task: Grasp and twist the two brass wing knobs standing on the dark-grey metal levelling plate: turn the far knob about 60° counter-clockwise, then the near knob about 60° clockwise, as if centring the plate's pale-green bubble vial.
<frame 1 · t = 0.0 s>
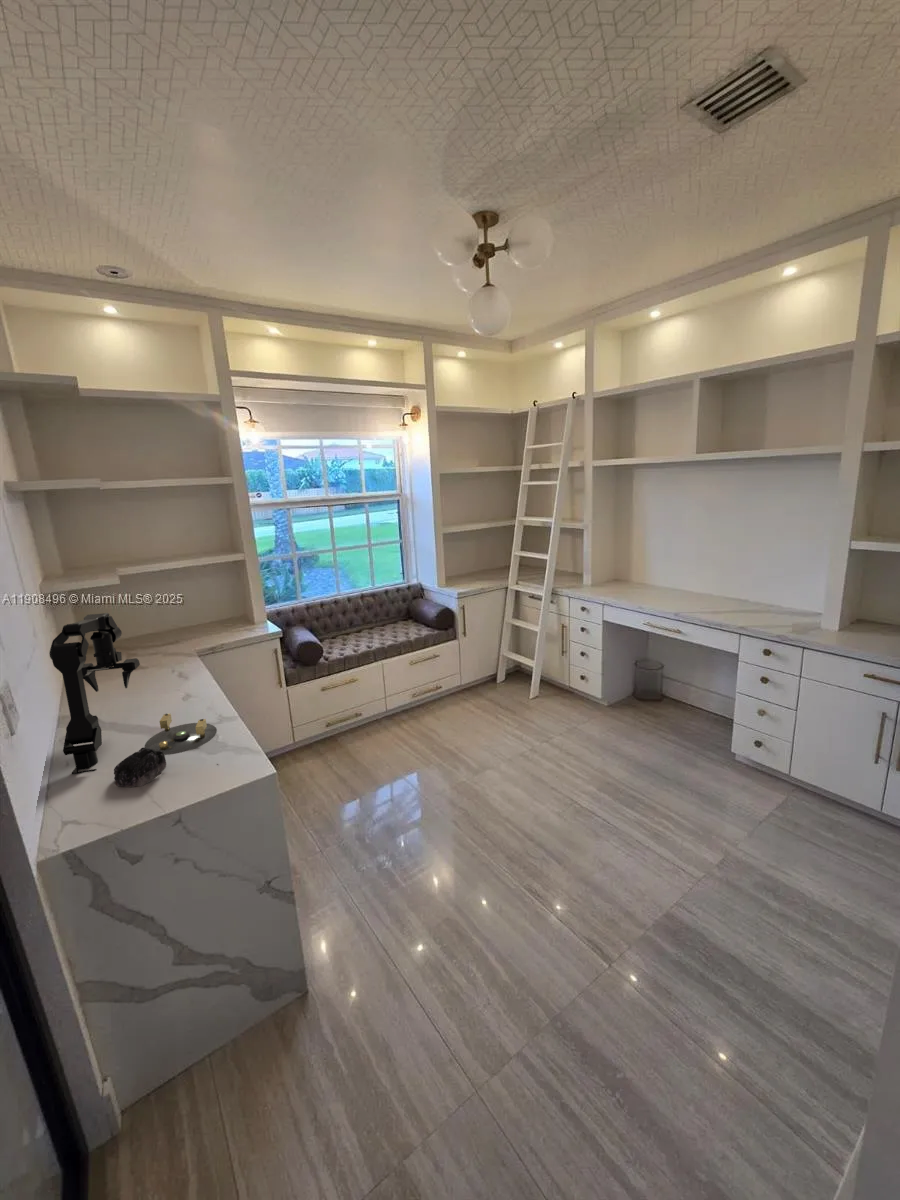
hand: (112, 689, 180), 15 cm above the countertop, fingers open, 9 cm apart
knob far: (166, 723, 176), point 4 cm above the countertop, hinge at 0.0°
levelling plate: (182, 740, 172), on the countertop
crystal cluster: (141, 777, 151), on the countertop
knob near: (201, 729, 171), point 4 cm above the countertop, hinge at 0.0°
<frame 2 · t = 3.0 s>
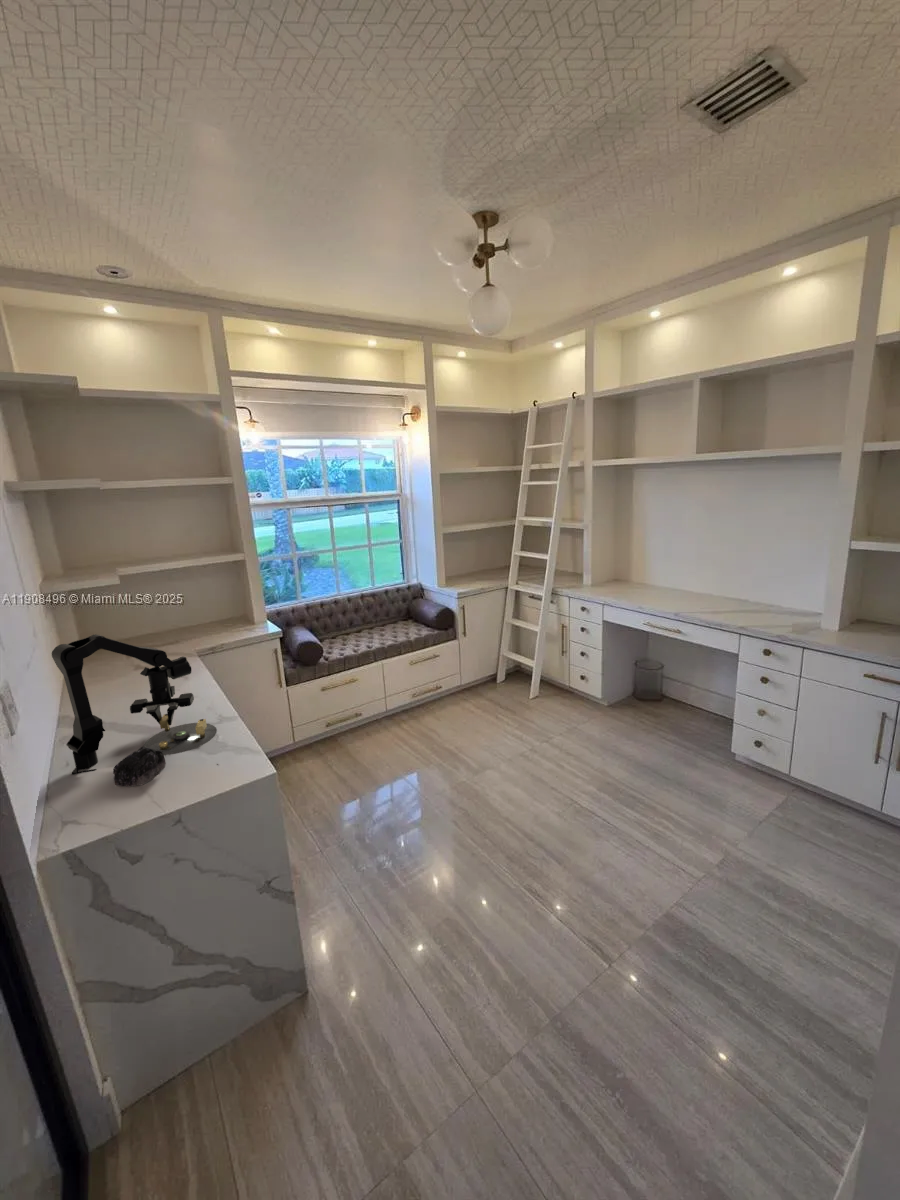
hand: (166, 725, 176), 3 cm above the countertop, fingers closed on knob far, 2 cm apart
knob far: (166, 723, 176), point 4 cm above the countertop, hinge at 0.0°, touching gripper
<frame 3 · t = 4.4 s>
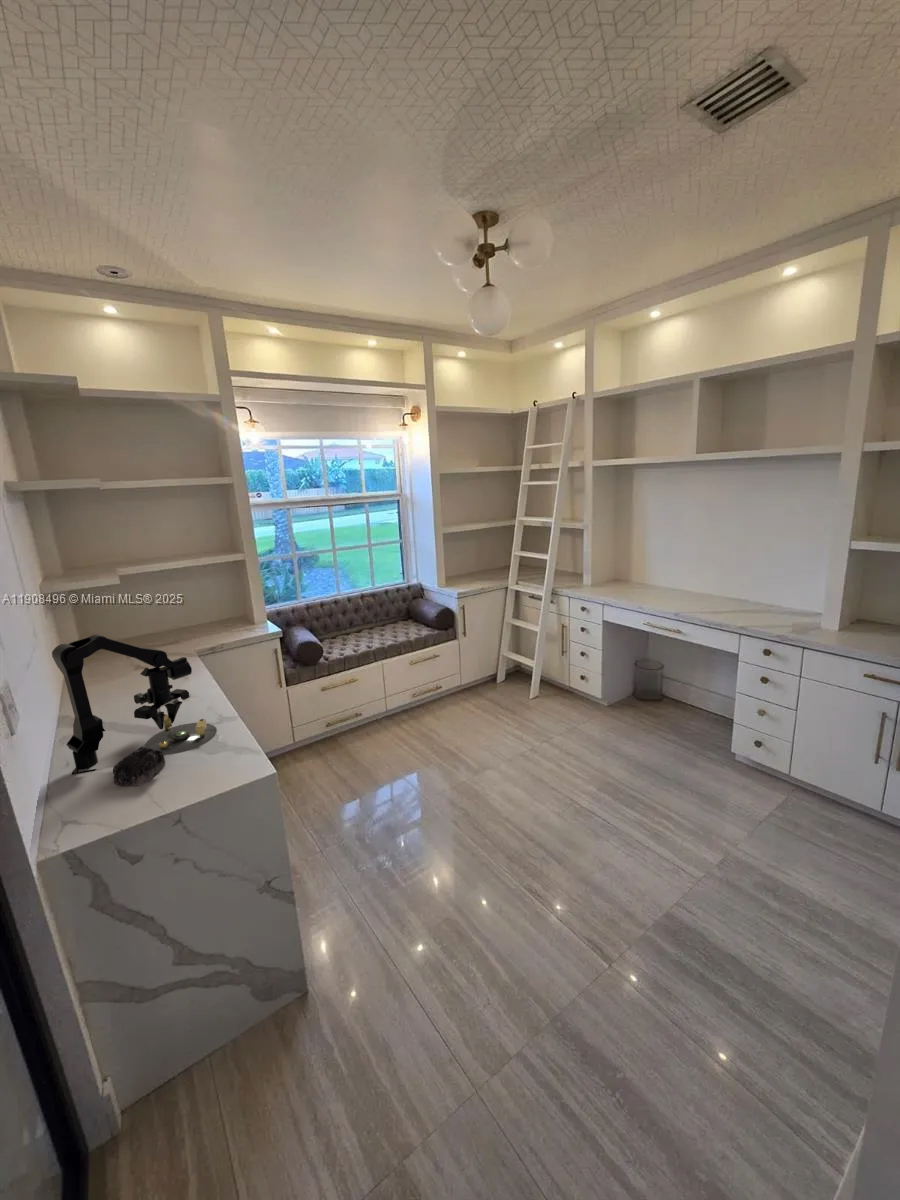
hand: (166, 726, 176), 3 cm above the countertop, fingers closed on knob far, 4 cm apart
knob far: (166, 723, 176), point 4 cm above the countertop, hinge at 26.4°, touching gripper
everything else where it was.
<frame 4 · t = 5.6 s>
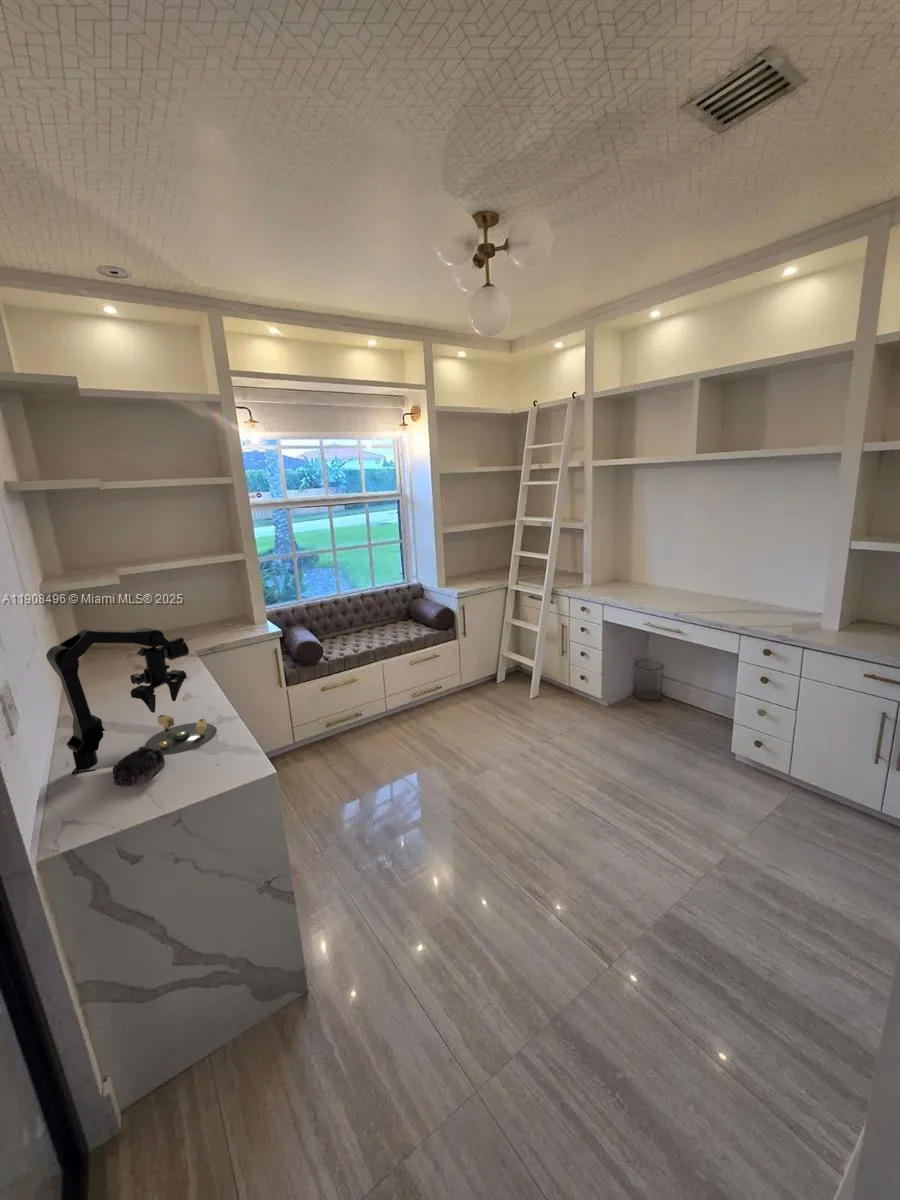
hand: (163, 706, 174), 11 cm above the countertop, fingers open, 9 cm apart
knob far: (166, 723, 176), point 4 cm above the countertop, hinge at 45.7°
everything else where it was.
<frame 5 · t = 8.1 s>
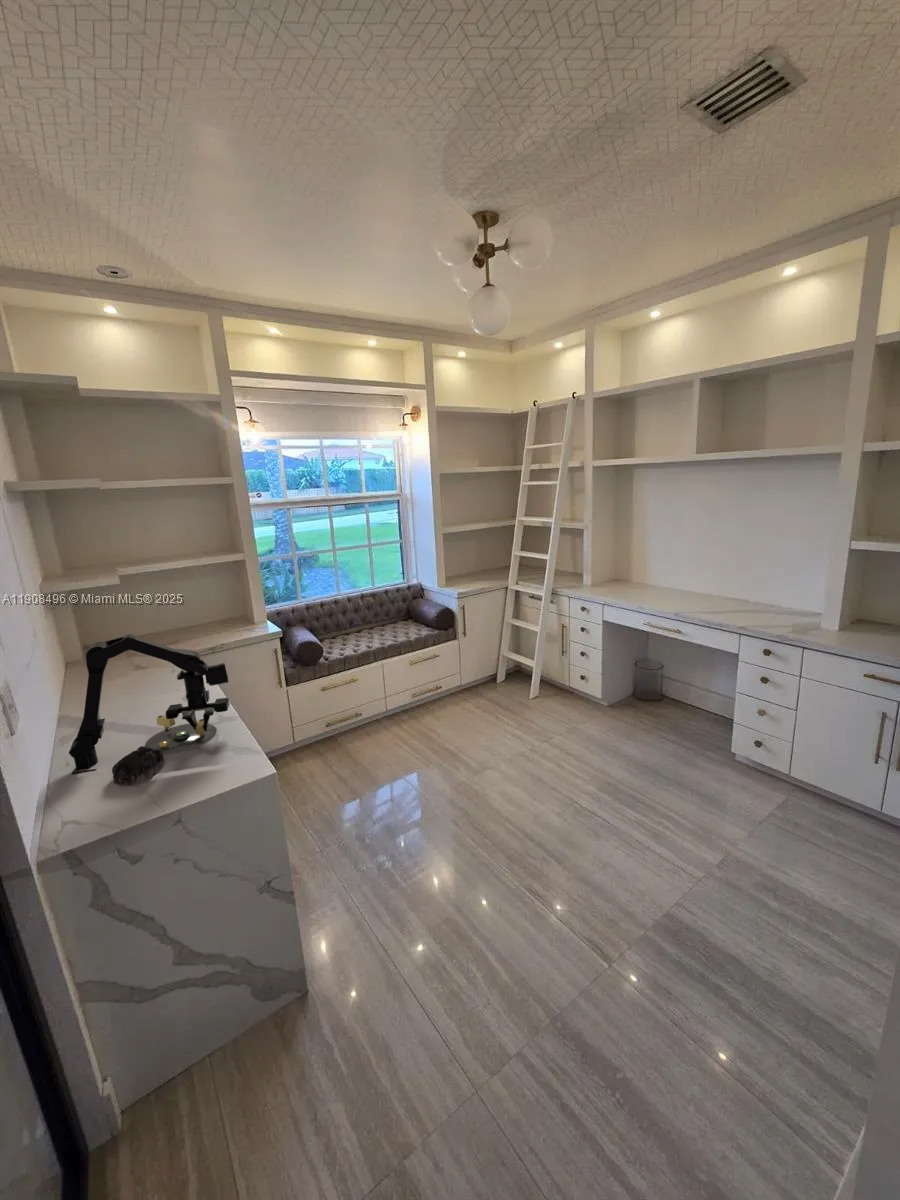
hand: (201, 731, 171), 3 cm above the countertop, fingers closed on knob near, 2 cm apart
knob far: (166, 723, 176), point 4 cm above the countertop, hinge at 57.6°
knob near: (201, 729, 171), point 4 cm above the countertop, hinge at 0.0°, touching gripper
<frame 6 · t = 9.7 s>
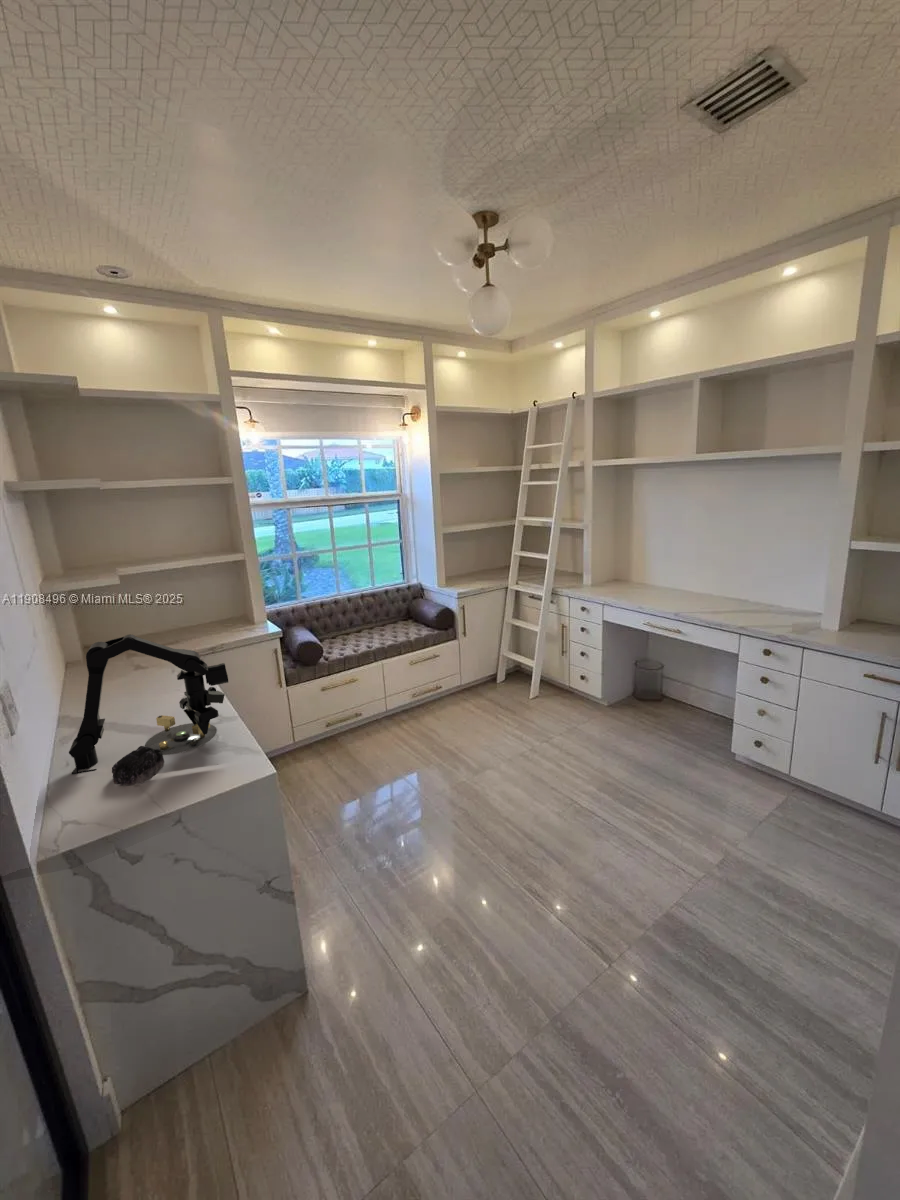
hand: (202, 731, 171), 3 cm above the countertop, fingers open, 6 cm apart
knob far: (166, 723, 176), point 4 cm above the countertop, hinge at 59.3°
knob near: (201, 729, 171), point 4 cm above the countertop, hinge at -29.4°
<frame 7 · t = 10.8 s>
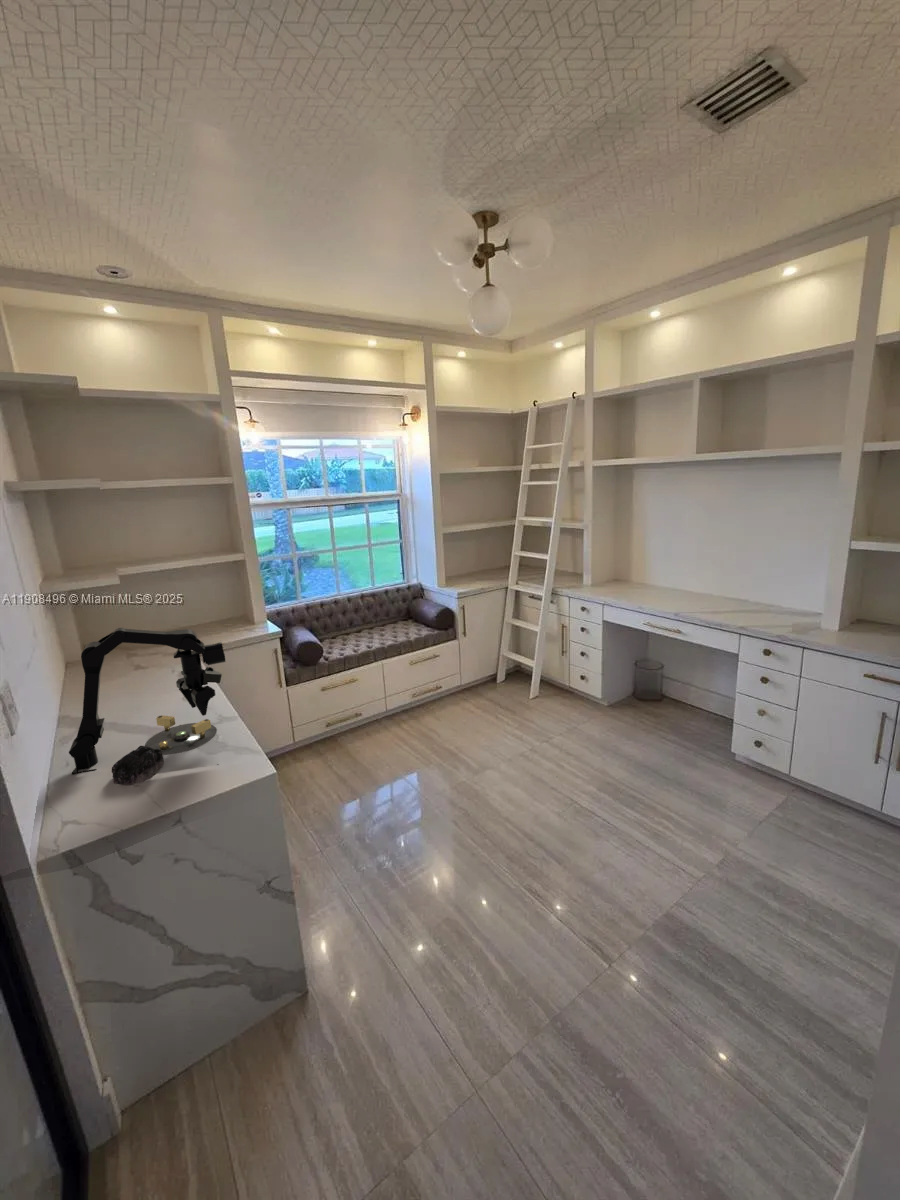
hand: (199, 711, 169), 11 cm above the countertop, fingers open, 9 cm apart
knob far: (166, 723, 176), point 4 cm above the countertop, hinge at 59.7°
knob near: (201, 729, 171), point 4 cm above the countertop, hinge at -46.0°
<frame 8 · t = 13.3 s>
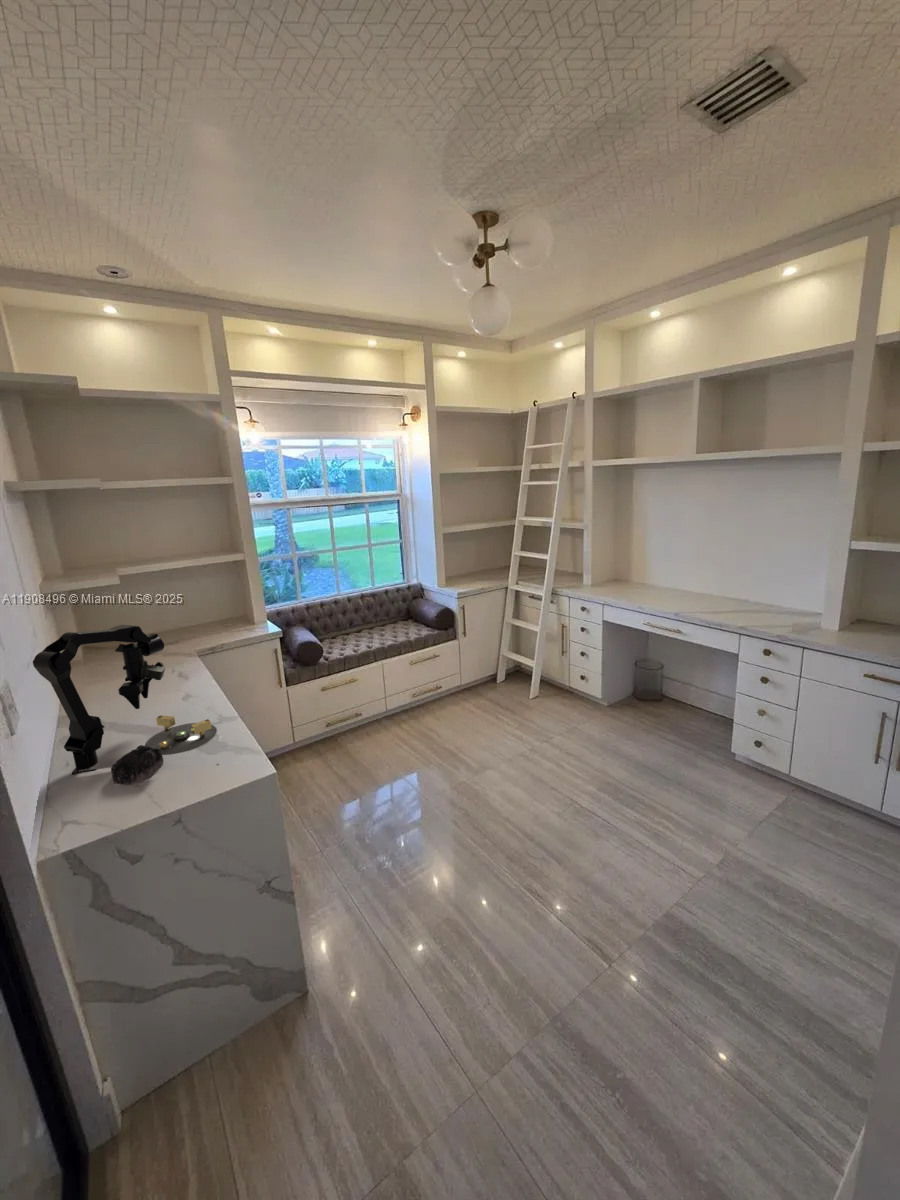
hand: (141, 703, 174), 12 cm above the countertop, fingers open, 9 cm apart
knob near: (201, 729, 171), point 4 cm above the countertop, hinge at -57.7°
at the end: knob far at +60° (first picture: +0°); knob near at -58° (first picture: +0°); the gripper is holding nothing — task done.
